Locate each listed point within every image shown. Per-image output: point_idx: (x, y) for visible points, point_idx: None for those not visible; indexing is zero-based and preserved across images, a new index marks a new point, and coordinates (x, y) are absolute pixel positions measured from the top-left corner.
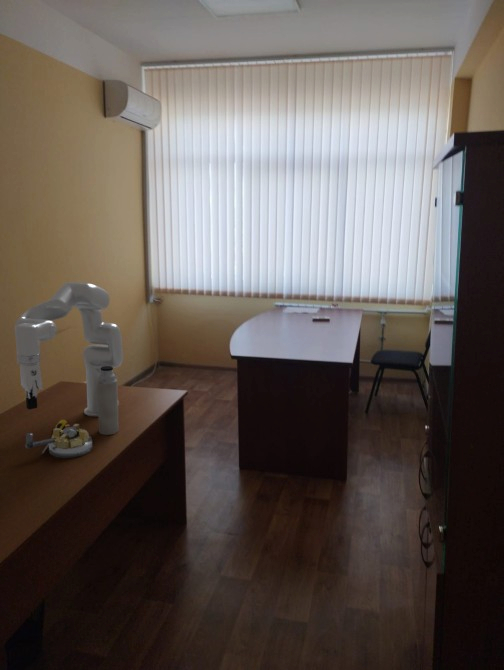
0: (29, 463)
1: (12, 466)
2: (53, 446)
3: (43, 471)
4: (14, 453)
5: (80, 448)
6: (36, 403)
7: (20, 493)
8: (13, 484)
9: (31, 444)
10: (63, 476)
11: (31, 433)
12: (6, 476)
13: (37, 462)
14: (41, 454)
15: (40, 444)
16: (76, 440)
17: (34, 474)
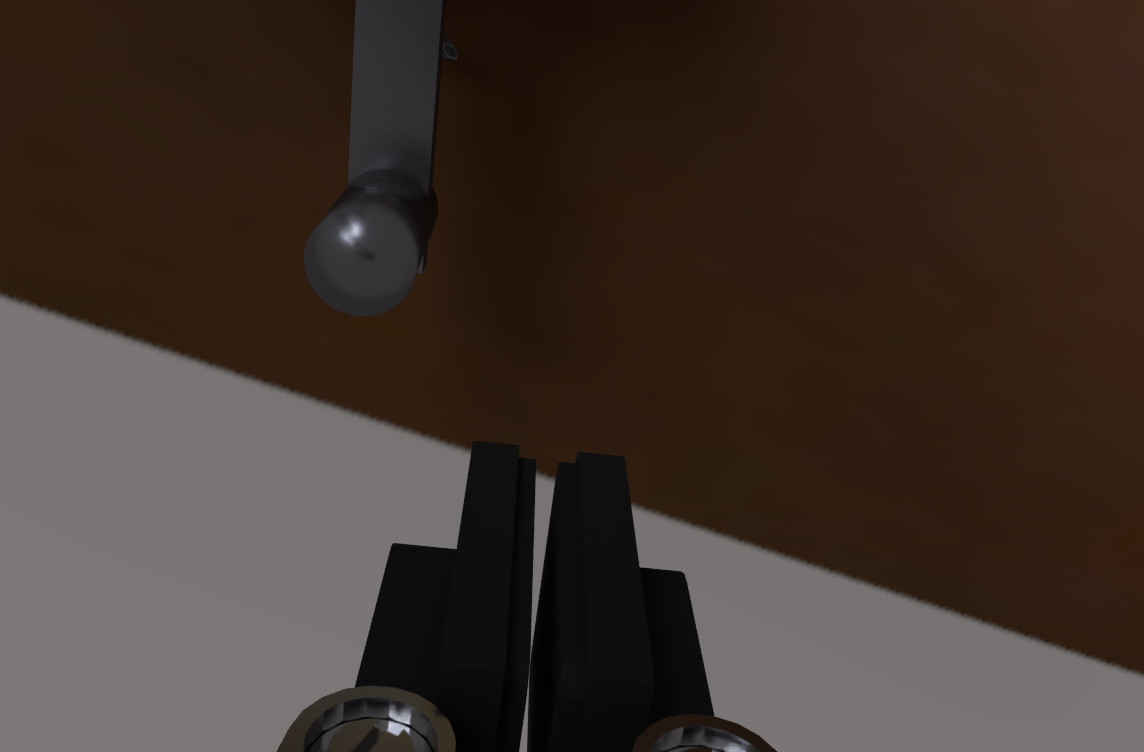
0: (526, 232)
1: (478, 390)
2: None
3: (823, 198)
4: (153, 254)
5: None
6: (634, 545)
7: (1054, 530)
8: (853, 515)
9: (432, 218)
10: (1105, 83)
11: (347, 225)
12: (653, 505)
13: (563, 152)
14: (456, 56)
15: (438, 80)
16: None
17: (815, 298)
